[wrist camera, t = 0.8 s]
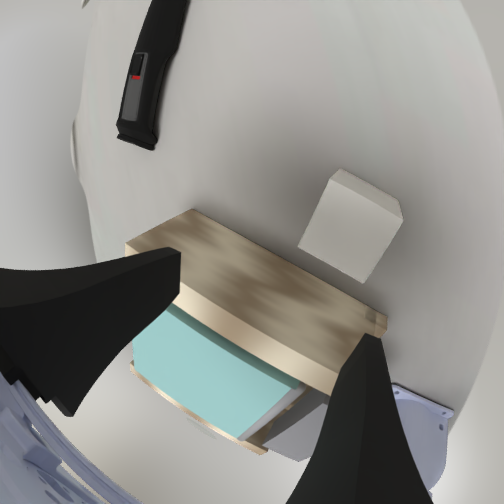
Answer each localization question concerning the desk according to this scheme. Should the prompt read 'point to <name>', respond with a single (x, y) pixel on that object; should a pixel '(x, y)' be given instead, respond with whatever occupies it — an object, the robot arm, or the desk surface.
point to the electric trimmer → (148, 71)
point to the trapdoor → (228, 384)
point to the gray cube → (352, 225)
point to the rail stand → (260, 306)
